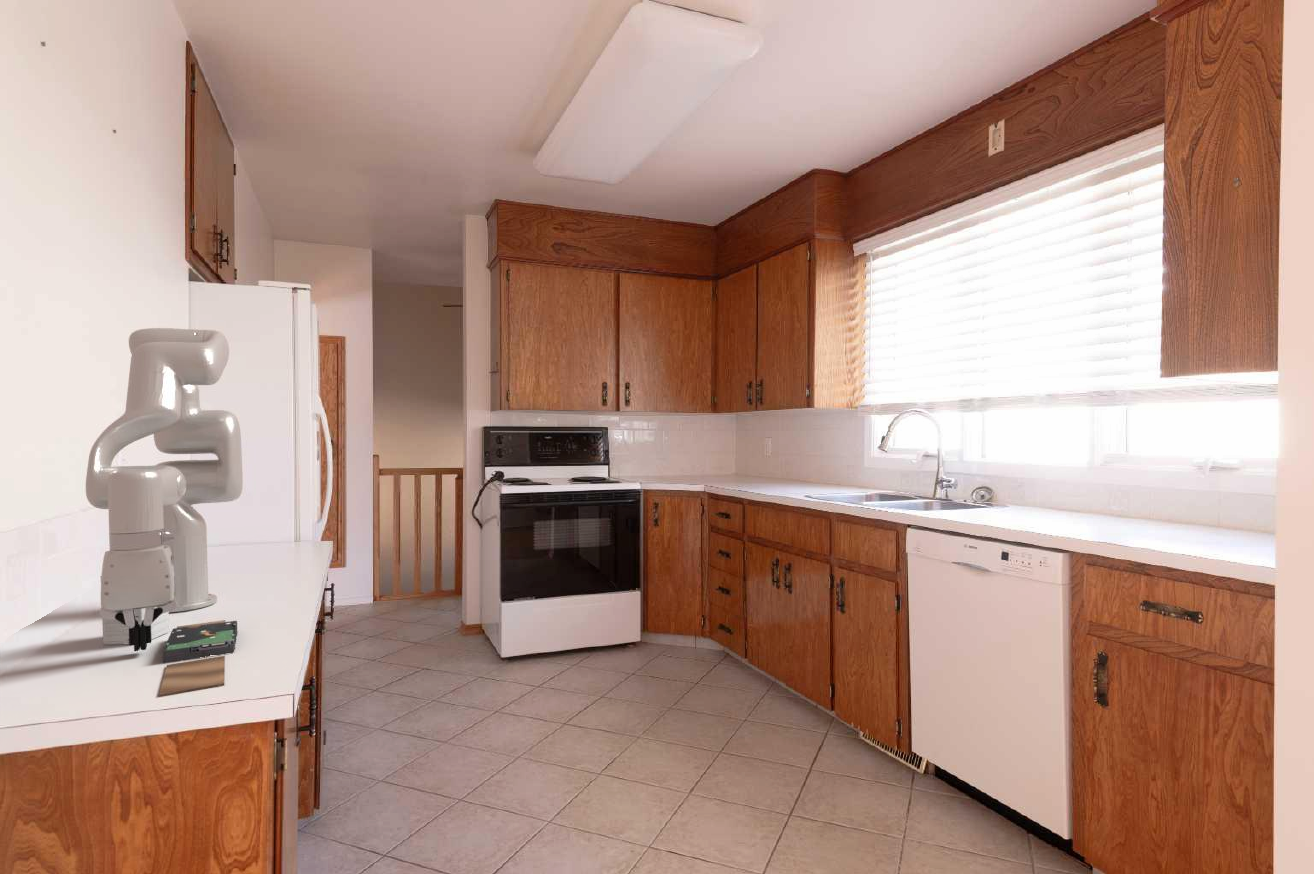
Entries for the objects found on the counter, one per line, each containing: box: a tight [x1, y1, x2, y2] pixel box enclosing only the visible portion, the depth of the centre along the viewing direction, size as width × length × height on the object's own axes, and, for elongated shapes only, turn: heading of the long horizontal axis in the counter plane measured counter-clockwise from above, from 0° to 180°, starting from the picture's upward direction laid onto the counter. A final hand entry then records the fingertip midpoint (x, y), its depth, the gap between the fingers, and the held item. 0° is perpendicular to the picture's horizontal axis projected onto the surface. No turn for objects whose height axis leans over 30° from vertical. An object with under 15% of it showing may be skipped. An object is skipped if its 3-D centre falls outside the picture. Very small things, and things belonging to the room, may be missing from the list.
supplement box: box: [100, 575, 170, 645], centre depth 130 cm, size 7×7×13 cm
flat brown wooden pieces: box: [158, 619, 226, 697], centre depth 121 cm, size 41×8×1 cm, turn 31°
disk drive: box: [162, 620, 238, 664], centre depth 125 cm, size 10×3×15 cm
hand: (140, 648), depth 121 cm, fingers closed
